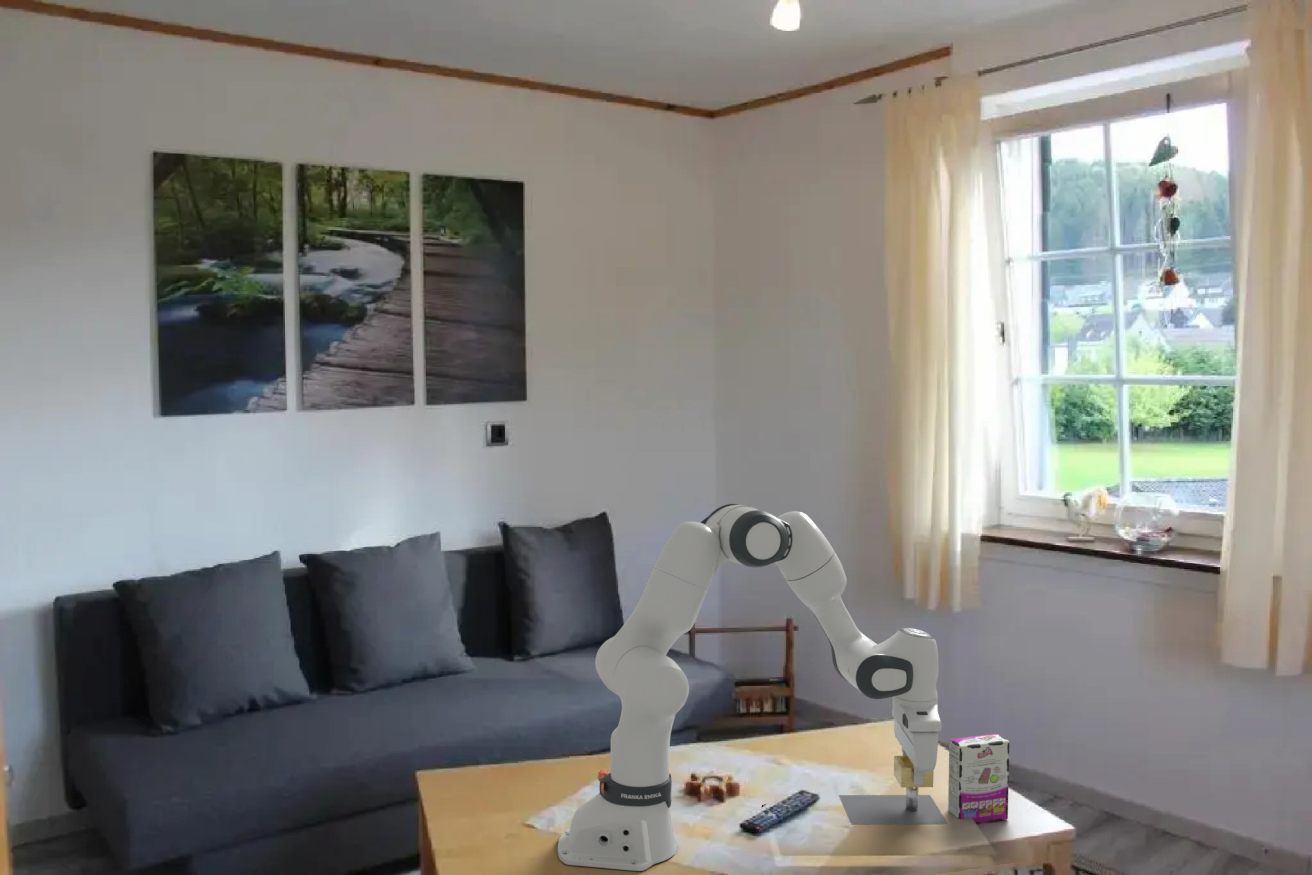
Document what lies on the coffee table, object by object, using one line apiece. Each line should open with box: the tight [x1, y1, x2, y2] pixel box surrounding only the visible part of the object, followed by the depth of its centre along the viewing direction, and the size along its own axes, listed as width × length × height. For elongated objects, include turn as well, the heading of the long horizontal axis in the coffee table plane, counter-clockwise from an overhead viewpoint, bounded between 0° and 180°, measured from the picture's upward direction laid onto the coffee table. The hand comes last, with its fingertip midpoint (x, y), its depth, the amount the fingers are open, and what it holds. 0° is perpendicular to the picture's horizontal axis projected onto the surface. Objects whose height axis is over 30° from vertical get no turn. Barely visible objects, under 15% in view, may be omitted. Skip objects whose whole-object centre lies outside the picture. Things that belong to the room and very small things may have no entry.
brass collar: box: [893, 755, 935, 788], centre depth 231 cm, size 6×6×4 cm
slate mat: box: [838, 794, 949, 825], centre depth 232 cm, size 19×14×2 cm
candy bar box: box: [947, 733, 1010, 825], centre depth 231 cm, size 11×5×16 cm, turn 105°
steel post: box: [905, 787, 920, 812], centre depth 232 cm, size 2×2×6 cm
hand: (913, 775), depth 231 cm, fingers closed on brass collar, 6 cm apart
